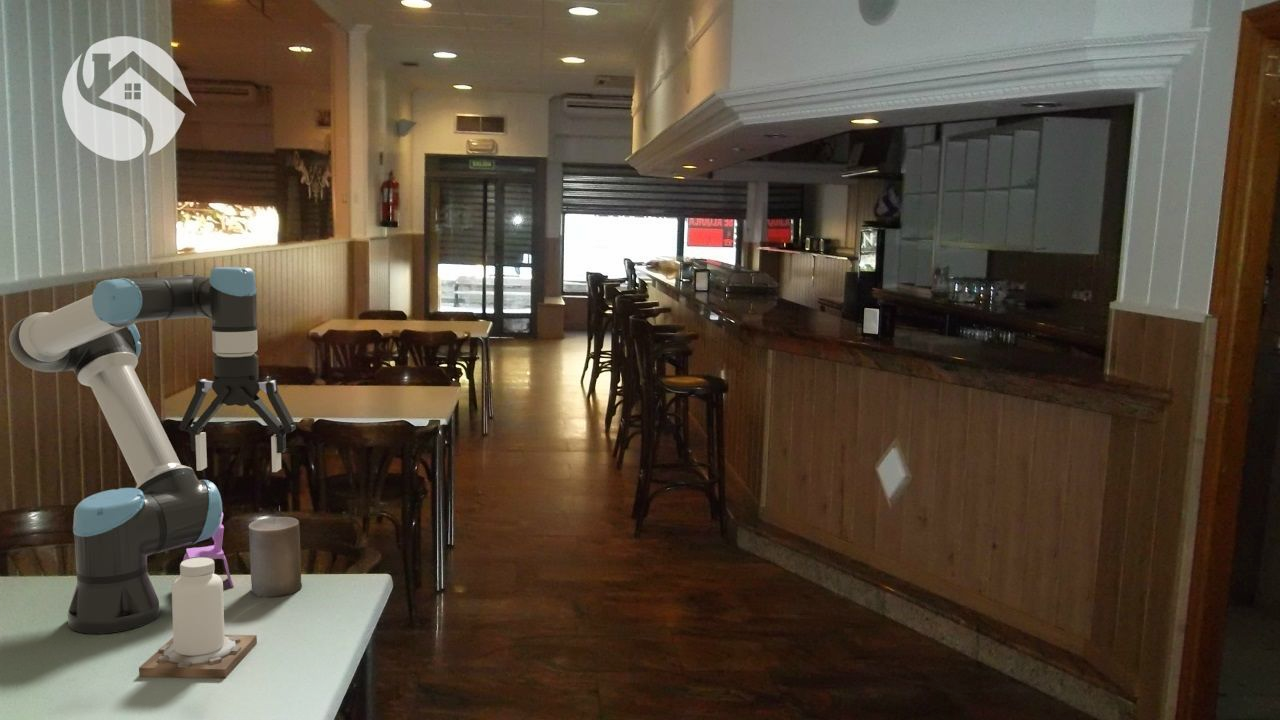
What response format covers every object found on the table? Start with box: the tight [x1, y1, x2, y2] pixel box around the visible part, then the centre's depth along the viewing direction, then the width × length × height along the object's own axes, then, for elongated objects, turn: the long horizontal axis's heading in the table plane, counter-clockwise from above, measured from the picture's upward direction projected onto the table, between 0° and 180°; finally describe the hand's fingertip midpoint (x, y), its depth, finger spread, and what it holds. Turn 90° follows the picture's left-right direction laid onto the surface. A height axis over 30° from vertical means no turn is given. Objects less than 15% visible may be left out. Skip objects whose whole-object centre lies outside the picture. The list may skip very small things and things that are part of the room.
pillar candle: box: [248, 516, 303, 598], centre depth 209 cm, size 10×10×15 cm
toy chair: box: [182, 511, 234, 589], centre depth 210 cm, size 8×9×15 cm
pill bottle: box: [171, 557, 225, 656], centre depth 176 cm, size 8×8×15 cm
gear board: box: [138, 634, 258, 679], centre depth 177 cm, size 14×14×2 cm
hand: (239, 469), depth 190 cm, fingers open, 13 cm apart
